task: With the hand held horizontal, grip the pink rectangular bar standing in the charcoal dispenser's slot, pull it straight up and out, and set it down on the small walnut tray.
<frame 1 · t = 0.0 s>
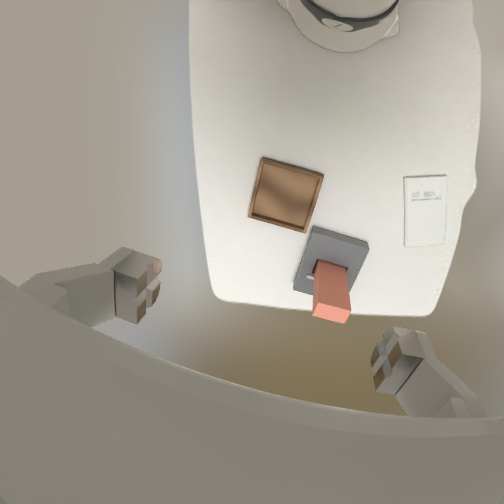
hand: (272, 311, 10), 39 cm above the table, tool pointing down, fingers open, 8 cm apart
tray: (285, 194, 48), on the table
external hard drive: (423, 209, 44), on the table
pink rectangular bar: (330, 285, 46), in the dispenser
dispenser: (329, 262, 52), on the table
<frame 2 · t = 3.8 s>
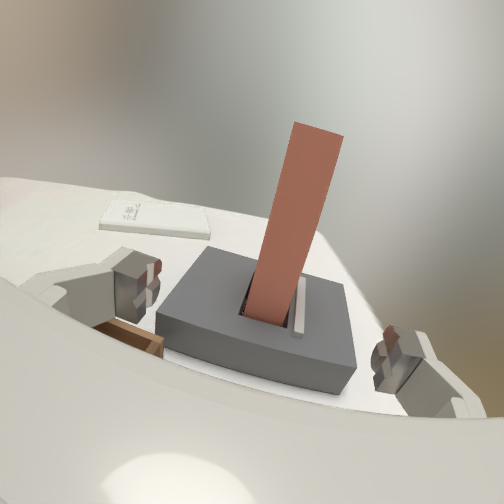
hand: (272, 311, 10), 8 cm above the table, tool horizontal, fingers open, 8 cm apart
tray: (50, 379, 12), on the table
external hard drive: (155, 226, 34), on the table
pink rectangular bar: (286, 239, 18), in the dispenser
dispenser: (259, 325, 21), on the table
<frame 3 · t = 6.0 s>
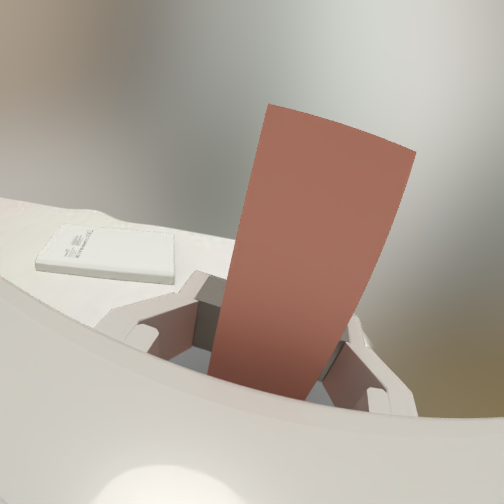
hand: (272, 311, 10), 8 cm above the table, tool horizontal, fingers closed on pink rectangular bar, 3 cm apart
external hard drive: (108, 261, 25), on the table
pink rectangular bar: (261, 350, 9), in the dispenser, touching gripper
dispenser: (226, 441, 12), on the table
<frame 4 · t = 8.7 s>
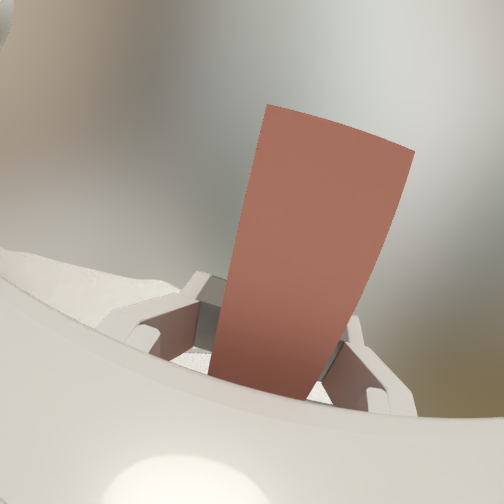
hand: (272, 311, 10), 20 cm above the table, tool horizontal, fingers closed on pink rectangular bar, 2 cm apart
pink rectangular bar: (262, 350, 9), point 19 cm above the table, touching gripper
when the fingers open (10 cm above the table, at t = 11.3 s): pink rectangular bar stays where it is, resting on tray.
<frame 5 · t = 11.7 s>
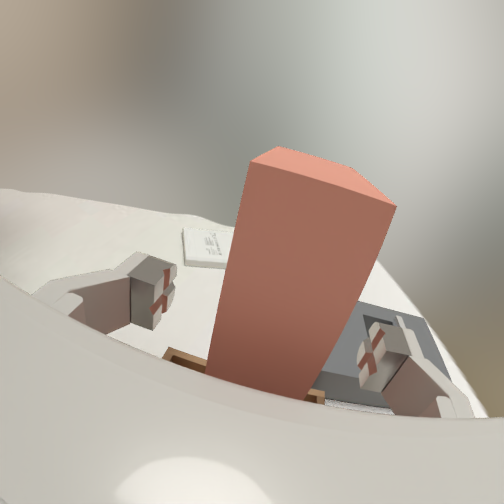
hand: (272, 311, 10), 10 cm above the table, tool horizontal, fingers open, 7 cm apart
tray: (222, 453, 13), on the table
external hard drive: (234, 258, 35), on the table
pink rectangular bar: (253, 369, 10), in the tray, point 8 cm above the table
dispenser: (369, 361, 22), on the table
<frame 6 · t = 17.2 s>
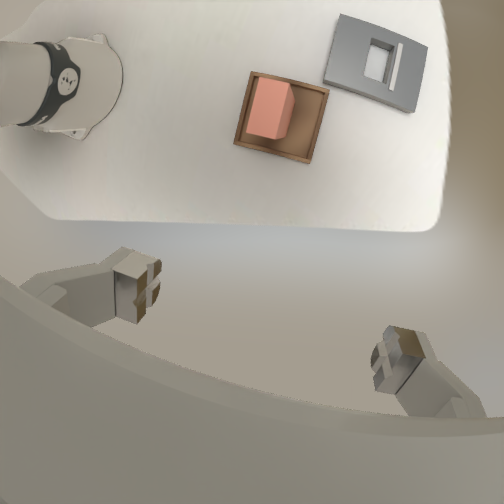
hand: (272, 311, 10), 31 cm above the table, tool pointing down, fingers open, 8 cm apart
tray: (281, 116, 35), on the table
pink rectangular bar: (275, 112, 28), in the tray, point 8 cm above the table
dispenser: (374, 64, 30), on the table
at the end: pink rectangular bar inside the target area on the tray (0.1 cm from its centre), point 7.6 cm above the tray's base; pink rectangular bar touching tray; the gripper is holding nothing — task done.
